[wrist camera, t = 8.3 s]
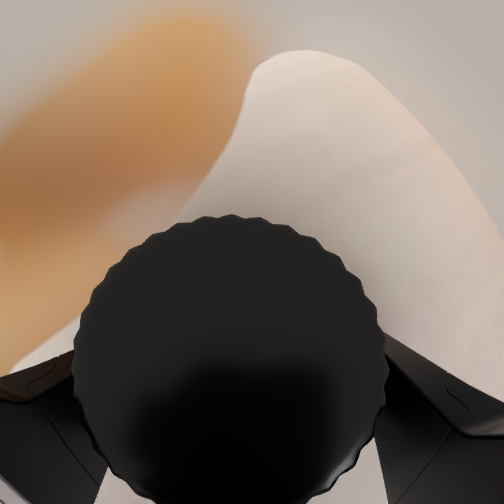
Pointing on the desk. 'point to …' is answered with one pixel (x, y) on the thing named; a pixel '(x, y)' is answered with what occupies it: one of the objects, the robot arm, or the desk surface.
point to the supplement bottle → (229, 365)
